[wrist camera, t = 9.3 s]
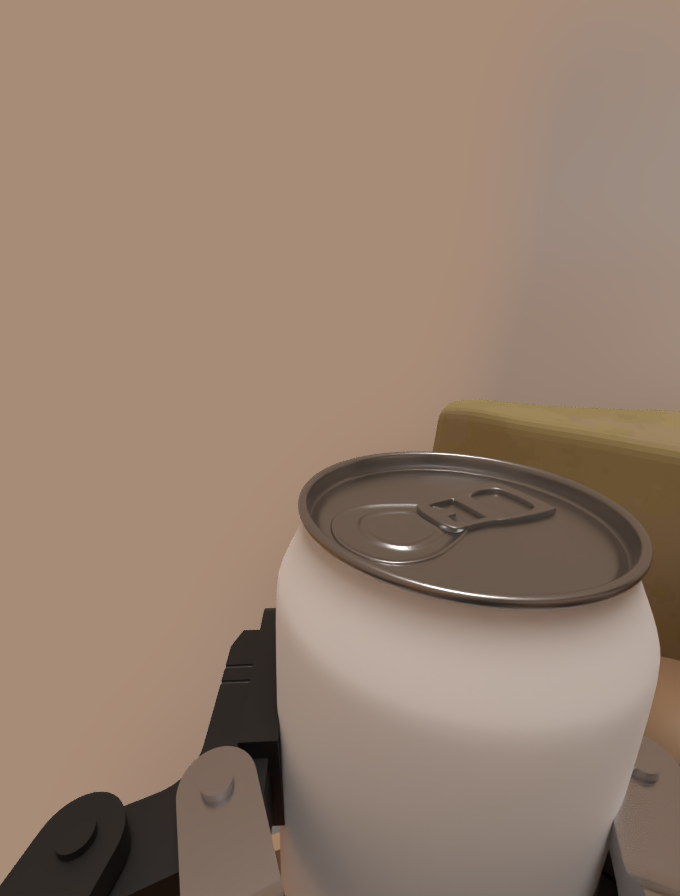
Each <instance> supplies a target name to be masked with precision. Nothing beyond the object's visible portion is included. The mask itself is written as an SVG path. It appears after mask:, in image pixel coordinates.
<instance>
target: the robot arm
mask: <svg viewBox="0 0 680 896" xmlns="http://www.w3.org/2000/svg"><path fill="white" fill-rule="evenodd" d="M283 825H285V819H284V801H283V783H282V764H281V744H280V723H279V716H278V709H277V677H276V608H266V609H265V610H264V614H263V618H262V623H261V628H260V630H244V631H243V632H242V633H241V635H240V636H239V637H238V638H237V640H236V641H235V642H234V643H233V645H232V646H231V649H230V652H229V656H228V660H227V663H226V669H225V671H224V674H223V677H222V684H221V685H220V689H219V692H218V696H217V699H216V703H215V707H214V710H213V714H212V717H211V721H210V725H209V728H208V732H207V735H206V739H205V743H204V746H203V749H202V752H201V754H200V756H199V757H198V758H197V759H196V760H195V761H194V762H193V763H192V764H191V765H190V766H189V768H188V769H187V770H186V772H185V773H184V775H183V777H182V778H181V779H180V780H179V781H178V782H177V783H175V784H174V785H172V786H171V787H169V788H167V789H165V790H163V791H161V792H159V793H156V794H154V795H151V796H149V797H146V798H144V799H141V800H139V801H136V802H134V803H131V804H128V805H126V806H123V804H122V802H121V801H120V799H119V798H118V797H116V796H115V795H113V794H111V793H108V792H94V793H91V794H87V795H84V796H82V797H79V798H77V799H76V800H74V801H72V802H70V803H69V804H67V805H66V806H64V807H63V808H62V809H61V810H59V811H58V812H57V813H56V814H55V815H54V816H53V817H52V818H51V819H50V820H49V821H48V822H47V823H46V824H45V826H44V827H43V828H42V830H41V831H40V832H39V833H38V835H37V836H36V837H35V839H34V840H33V841H32V843H31V844H30V846H29V847H28V848H27V850H26V851H25V852H24V854H23V855H22V857H21V858H20V859H19V861H18V862H17V864H16V865H15V866H14V868H13V869H12V870H11V872H10V873H9V874H8V876H7V877H6V878H5V880H4V881H3V882H2V884H1V885H0V896H285V893H284V889H283V885H282V881H281V877H280V872H279V868H278V863H277V859H276V855H275V850H274V846H273V841H272V837H271V833H272V826H283ZM607 842H608V846H609V850H608V853H607V857H606V860H605V863H604V866H603V869H602V873H601V876H600V879H599V882H598V885H597V888H596V890H595V892H594V895H593V896H680V764H678V763H677V762H676V761H675V759H674V758H673V757H672V756H671V755H670V754H669V753H668V752H667V751H666V750H665V749H664V748H662V747H661V746H660V745H659V744H657V743H656V742H654V741H653V740H651V739H650V738H648V737H646V736H644V735H643V738H642V741H641V744H640V748H639V751H638V755H637V758H636V761H635V765H634V768H633V772H632V775H631V778H630V781H629V785H628V788H627V791H626V795H625V797H624V800H623V803H622V805H621V807H620V809H619V811H618V813H617V815H616V816H615V818H614V820H613V823H612V826H611V830H610V833H609V837H608V840H607Z"/></svg>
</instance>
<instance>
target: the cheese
mask: <svg viewBox="0 0 680 896" xmlns="http://www.w3.org/2000/svg"><path fill="white" fill-rule="evenodd" d="M433 452H445V453H457V454H467V455H475V456H481V457H488V458H494V459H499V460H504V461H509V462H513V463H518V464H522V465H526V466H530V467H533V468H537V469H540V470H544V471H547V472H550V473H553V474H556V475H559V476H562V477H564V478H567V479H570V480H572V481H575V482H577V483H579V484H582V485H584V486H586V487H588V488H590V489H592V490H595V491H596V492H598V493H600V494H602V495H604V496H606V497H607V498H609V499H611V500H612V501H614V502H615V503H617V504H618V505H620V506H621V507H623V508H624V509H625V510H627V511H628V512H629V513H630V514H631V515H632V516H633V517H635V518H636V519H637V520H638V522H639V523H640V524H641V525H642V526H643V528H644V529H645V530H646V532H647V534H648V536H649V538H650V540H651V543H652V547H653V560H652V564H651V567H650V569H649V571H648V572H647V574H646V575H645V577H644V578H643V579H642V584H643V587H644V590H645V593H646V596H647V599H648V601H649V605H650V608H651V611H652V614H653V617H654V621H655V624H656V628H657V632H658V638H659V644H660V657H666V658H671V659H675V660H678V661H680V411H662V410H659V411H658V410H622V409H597V408H576V407H557V406H542V405H541V406H540V405H528V404H518V403H508V402H499V401H489V400H461V401H455V402H453V403H450V404H449V405H447V406H446V407H445V408H444V409H443V410H442V412H441V414H440V416H439V420H438V425H437V431H436V436H435V442H434V447H433Z"/></svg>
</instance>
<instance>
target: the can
mask: <svg viewBox="0 0 680 896" xmlns="http://www.w3.org/2000/svg"><path fill="white" fill-rule="evenodd" d="M298 508H299V514H300V518H301V520H302V522H301V524H300V526H299V528H298V530H297V531H296V533H295V535H294V537H293V539H292V541H291V543H290V545H289V547H288V549H287V551H286V553H285V555H284V558H283V561H282V564H281V566H280V570H279V574H278V582H277V592H276V677H277V709H278V716H279V723H280V744H281V764H282V783H283V801H284V819H285V825H283V826H280V857H281V881H282V885H283V889H284V893H285V896H593V895H594V892H595V890H596V888H597V885H598V882H599V879H600V876H601V873H602V869H603V866H604V863H605V860H606V857H607V853H608V850H609V846H608V842H607V840H608V837H609V833H610V830H611V826H612V823H613V820H614V818H615V816H616V815H617V813H618V811H619V809H620V807H621V805H622V803H623V800H624V797H625V795H626V791H627V788H628V785H629V781H630V778H631V775H632V772H633V768H634V765H635V761H636V758H637V755H638V751H639V748H640V744H641V741H642V738H643V734H644V731H645V727H646V724H647V721H648V717H649V713H650V709H651V706H652V702H653V698H654V694H655V690H656V686H657V681H658V674H659V666H660V644H659V638H658V632H657V628H656V624H655V621H654V617H653V614H652V611H651V608H650V605H649V601H648V599H647V596H646V593H645V590H644V587H643V584H642V579H643V578H644V577H645V575H646V574H647V572H648V571H649V569H650V567H651V564H652V560H653V547H652V543H651V540H650V538H649V536H648V534H647V532H646V530H645V529H644V528H643V526H642V525H641V524H640V523H639V522H638V520H637V519H636V518H635V517H633V516H632V515H631V514H630V513H629V512H628V511H627V510H625V509H624V508H623V507H621V506H620V505H618V504H617V503H615V502H614V501H612V500H611V499H609V498H607V497H606V496H604V495H602V494H600V493H598V492H596V491H595V490H592V489H590V488H588V487H586V486H584V485H582V484H579V483H577V482H575V481H572V480H570V479H567V478H564V477H562V476H559V475H556V474H553V473H550V472H547V471H544V470H540V469H537V468H533V467H530V466H526V465H522V464H518V463H513V462H509V461H504V460H499V459H494V458H488V457H481V456H475V455H467V454H457V453H445V452H394V453H382V454H374V455H368V456H363V457H358V458H353V459H350V460H346V461H343V462H340V463H337V464H335V465H332V466H330V467H328V468H326V469H324V470H322V471H320V472H319V473H317V474H316V475H314V476H313V477H312V478H311V479H310V480H309V481H308V482H307V483H306V484H305V486H304V487H303V489H302V491H301V493H300V496H299V501H298Z"/></svg>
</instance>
